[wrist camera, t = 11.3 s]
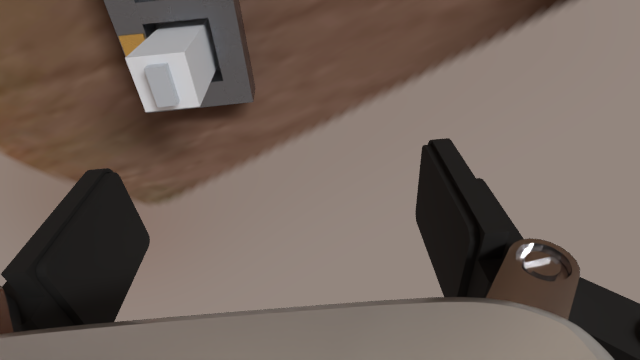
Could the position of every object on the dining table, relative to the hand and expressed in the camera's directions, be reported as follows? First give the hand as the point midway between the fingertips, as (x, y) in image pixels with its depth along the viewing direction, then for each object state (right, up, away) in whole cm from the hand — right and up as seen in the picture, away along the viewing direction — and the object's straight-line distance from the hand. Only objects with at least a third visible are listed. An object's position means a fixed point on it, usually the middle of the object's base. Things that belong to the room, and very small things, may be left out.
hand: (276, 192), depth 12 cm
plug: (-11, +13, +23) cm, 28 cm away
